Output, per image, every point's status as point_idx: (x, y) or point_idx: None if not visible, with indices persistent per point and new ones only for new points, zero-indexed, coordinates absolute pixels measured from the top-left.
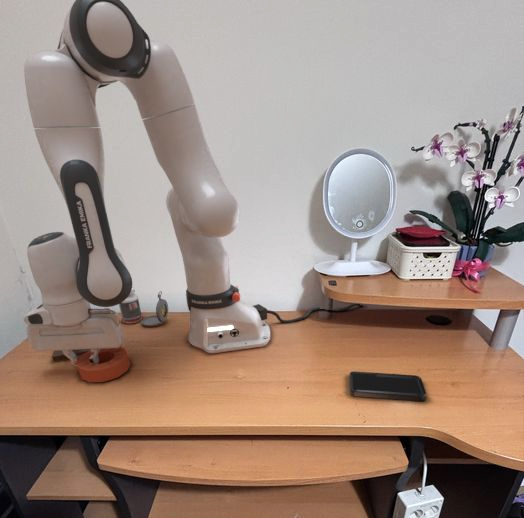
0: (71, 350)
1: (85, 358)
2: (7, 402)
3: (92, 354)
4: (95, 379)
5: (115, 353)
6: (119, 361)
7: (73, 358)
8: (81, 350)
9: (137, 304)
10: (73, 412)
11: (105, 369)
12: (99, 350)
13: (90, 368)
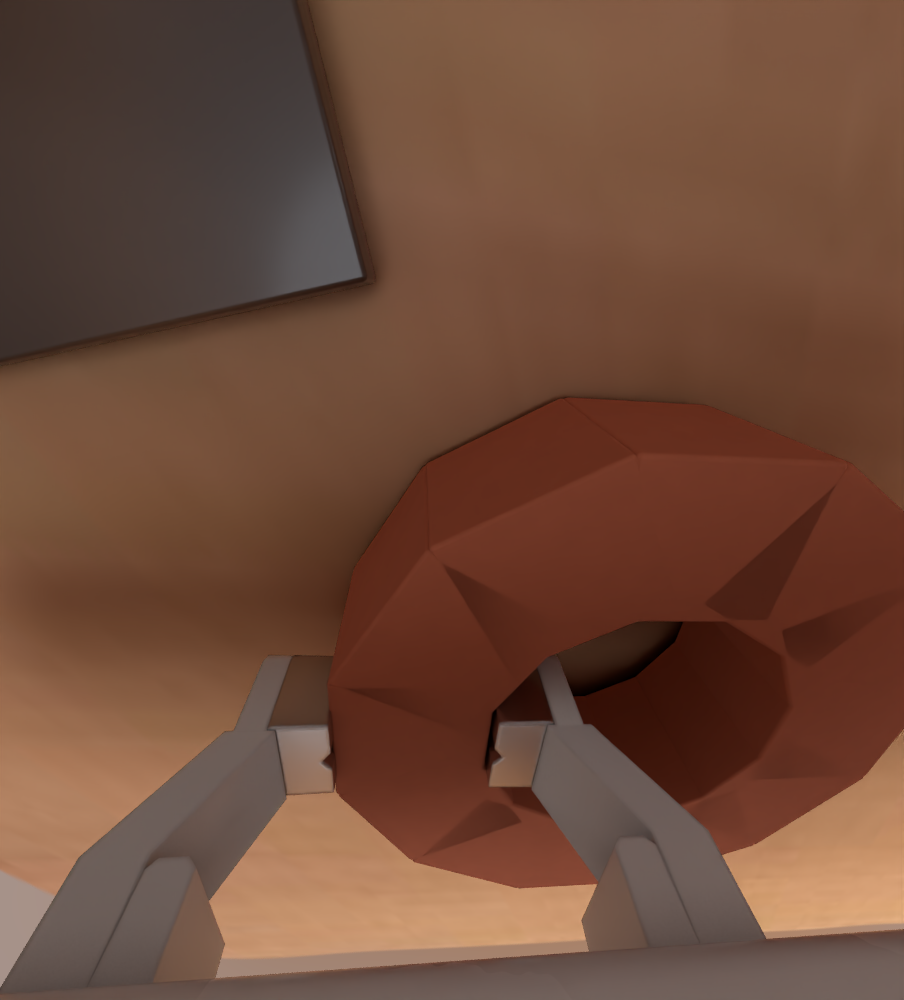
0: (180, 833)
1: (430, 751)
2: (25, 874)
3: (494, 677)
4: None
5: (801, 674)
6: (815, 797)
7: (283, 795)
8: (120, 261)
9: None
10: (473, 905)
11: None
12: (656, 787)
13: (543, 869)
